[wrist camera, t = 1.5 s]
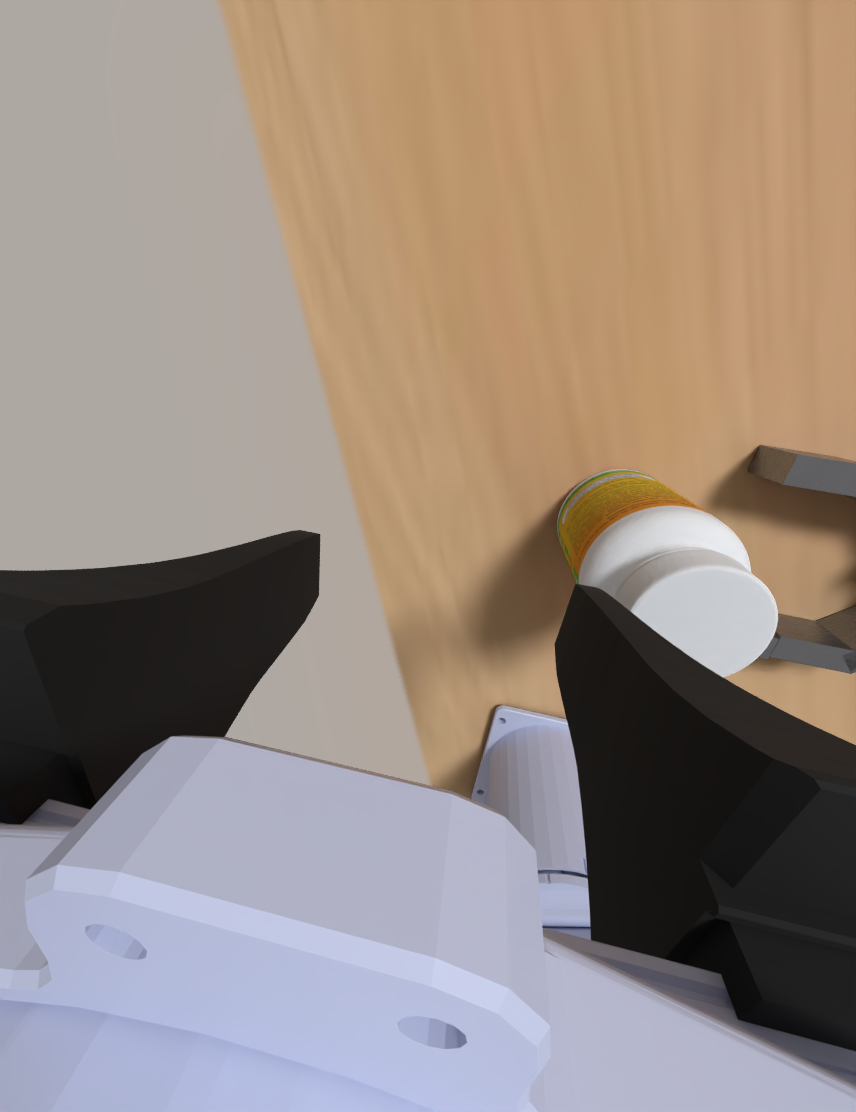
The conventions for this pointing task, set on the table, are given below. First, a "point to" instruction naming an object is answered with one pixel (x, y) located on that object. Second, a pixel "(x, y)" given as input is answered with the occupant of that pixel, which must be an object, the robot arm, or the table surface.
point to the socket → (839, 637)
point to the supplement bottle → (668, 567)
